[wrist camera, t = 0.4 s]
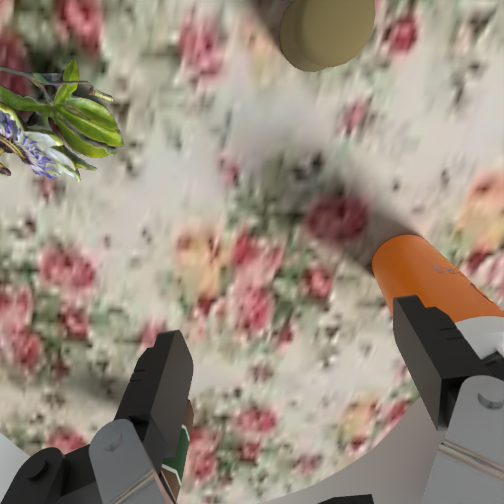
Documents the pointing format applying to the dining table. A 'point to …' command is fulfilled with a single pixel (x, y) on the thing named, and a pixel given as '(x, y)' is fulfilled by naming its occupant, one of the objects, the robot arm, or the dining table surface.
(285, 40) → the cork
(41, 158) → the passion flower
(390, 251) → the shaker bottle
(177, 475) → the beer bottle
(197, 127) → the dining table surface
